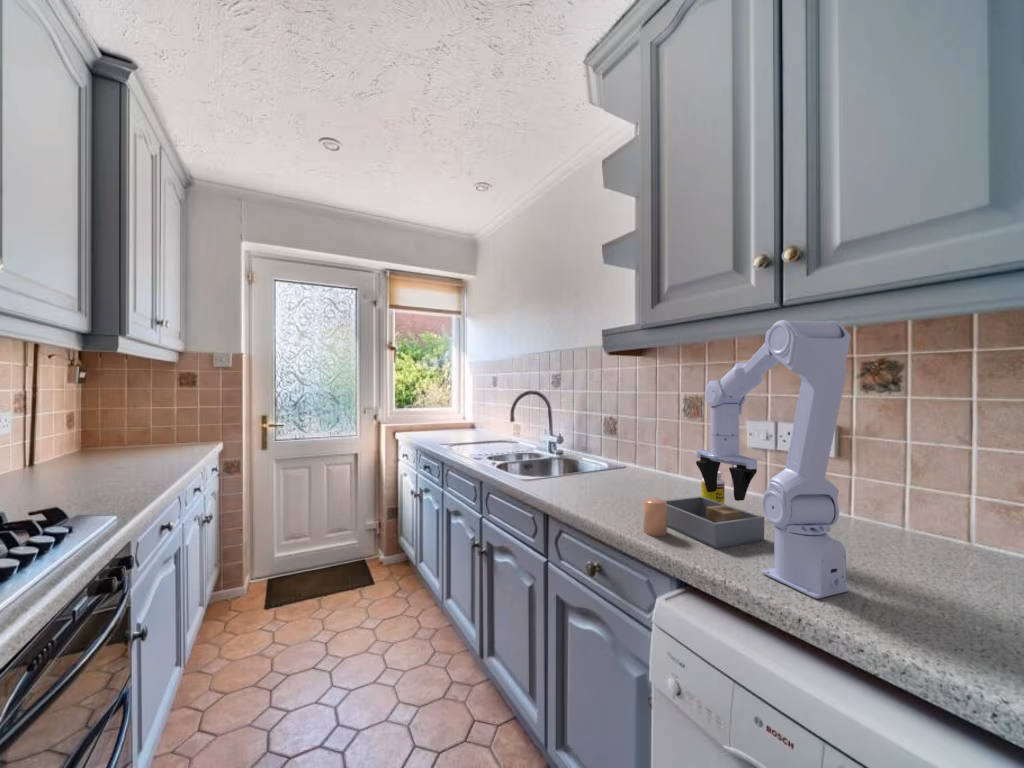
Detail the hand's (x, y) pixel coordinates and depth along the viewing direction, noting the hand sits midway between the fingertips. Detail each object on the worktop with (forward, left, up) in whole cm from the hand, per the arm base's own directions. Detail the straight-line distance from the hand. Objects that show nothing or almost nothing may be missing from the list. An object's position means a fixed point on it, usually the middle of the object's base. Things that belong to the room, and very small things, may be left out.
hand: (724, 495), depth 92 cm
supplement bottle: (+15, -12, -9) cm, 21 cm away
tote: (+3, +2, -9) cm, 9 cm away
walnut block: (0, 0, -8) cm, 8 cm away
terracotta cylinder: (+6, +14, -9) cm, 18 cm away
